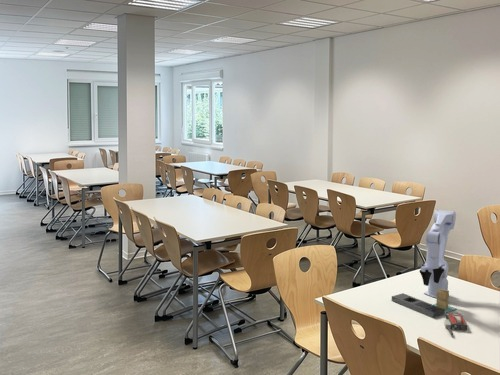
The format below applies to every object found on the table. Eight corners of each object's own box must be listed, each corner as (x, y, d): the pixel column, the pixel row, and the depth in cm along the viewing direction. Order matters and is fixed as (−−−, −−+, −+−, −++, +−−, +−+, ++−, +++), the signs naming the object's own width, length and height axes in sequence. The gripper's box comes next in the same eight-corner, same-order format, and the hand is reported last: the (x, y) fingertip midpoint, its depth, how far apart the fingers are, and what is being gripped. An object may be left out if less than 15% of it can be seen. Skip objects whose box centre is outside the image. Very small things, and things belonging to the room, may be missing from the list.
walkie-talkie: (440, 318, 218) (448, 337, 199) (441, 308, 217) (449, 327, 198) (461, 319, 216) (472, 339, 197) (462, 310, 215) (472, 329, 196)
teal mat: (440, 303, 234) (440, 302, 234) (456, 309, 227) (456, 308, 227) (427, 306, 230) (427, 306, 230) (444, 313, 222) (444, 312, 222)
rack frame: (402, 297, 242) (403, 293, 241) (444, 314, 221) (444, 309, 221) (391, 300, 237) (391, 296, 237) (432, 317, 217) (433, 312, 217)
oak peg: (439, 305, 231) (440, 288, 230) (447, 307, 228) (448, 290, 227) (436, 307, 228) (437, 291, 227) (444, 309, 225) (445, 293, 224)
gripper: (435, 252, 239) (433, 279, 241) (415, 256, 232) (414, 284, 233) (447, 255, 233) (446, 283, 235) (428, 259, 226) (426, 288, 227)
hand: (431, 283), depth 234 cm, fingers open, 7 cm apart
